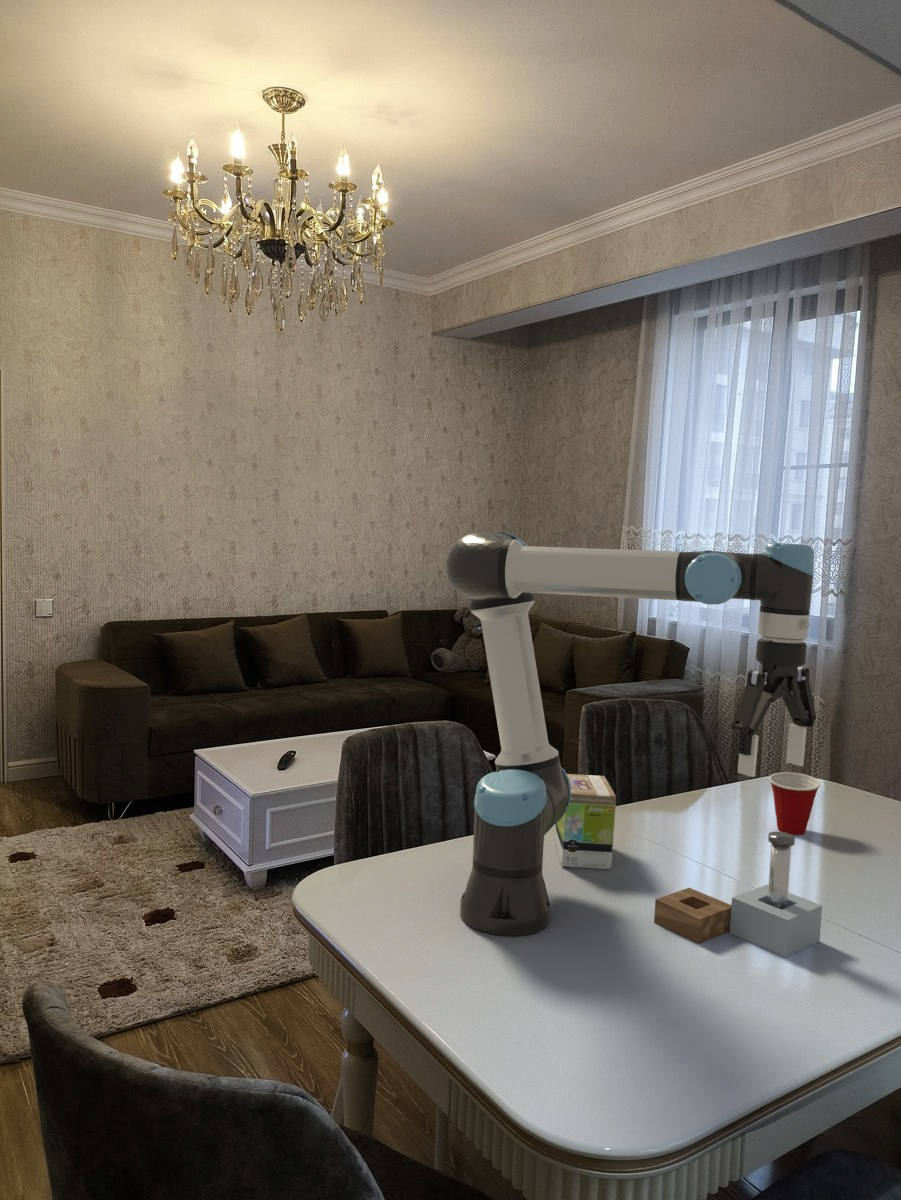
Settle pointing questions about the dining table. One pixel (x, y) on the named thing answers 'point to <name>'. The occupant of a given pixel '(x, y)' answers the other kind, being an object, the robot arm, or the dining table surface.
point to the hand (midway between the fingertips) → (771, 769)
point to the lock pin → (779, 868)
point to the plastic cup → (793, 800)
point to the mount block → (693, 914)
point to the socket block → (775, 922)
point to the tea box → (587, 824)
